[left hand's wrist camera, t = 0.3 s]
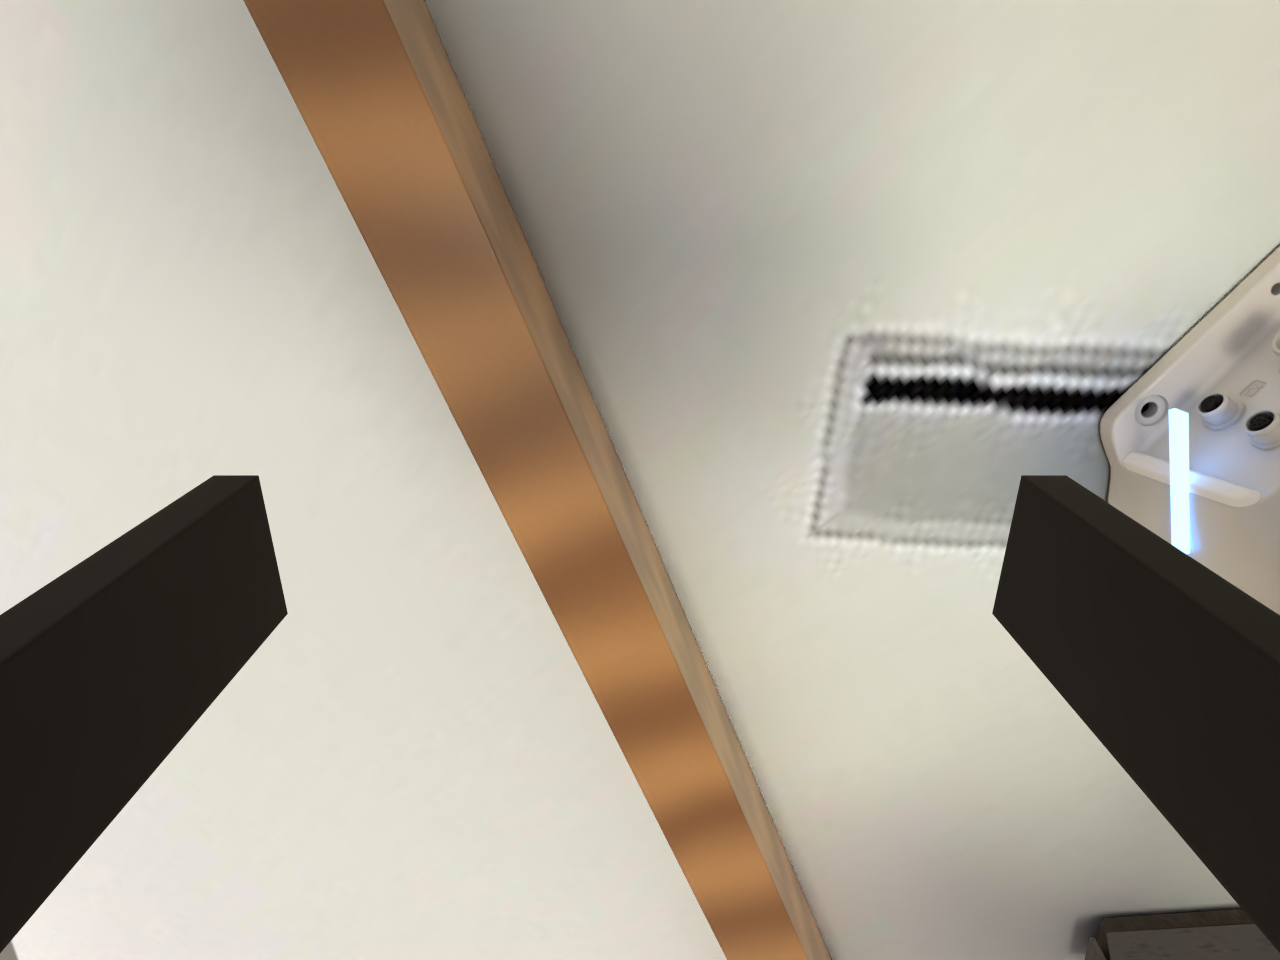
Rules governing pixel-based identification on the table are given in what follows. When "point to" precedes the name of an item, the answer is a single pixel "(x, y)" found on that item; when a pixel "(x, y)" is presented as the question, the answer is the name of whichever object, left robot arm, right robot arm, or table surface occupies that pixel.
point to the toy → (1182, 938)
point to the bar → (536, 437)
